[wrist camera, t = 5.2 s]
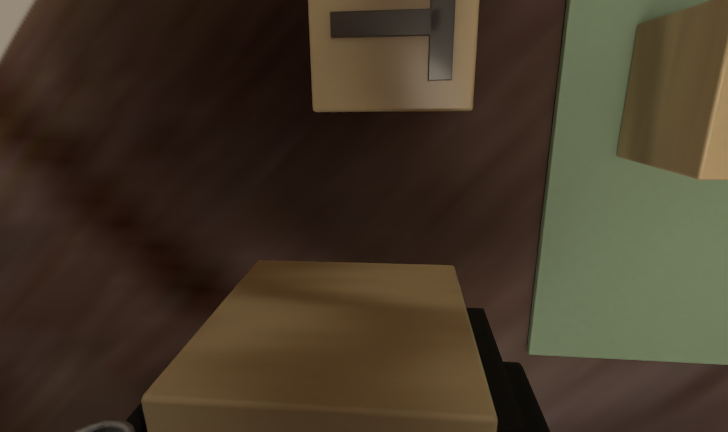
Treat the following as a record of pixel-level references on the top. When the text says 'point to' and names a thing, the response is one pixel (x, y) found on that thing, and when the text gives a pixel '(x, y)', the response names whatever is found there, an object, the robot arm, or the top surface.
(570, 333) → the word mat
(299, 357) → the letter L
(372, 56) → the letter T
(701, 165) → the letter I
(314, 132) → the top surface
